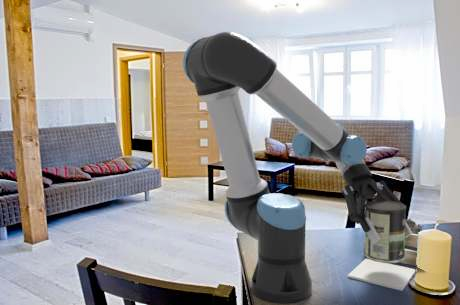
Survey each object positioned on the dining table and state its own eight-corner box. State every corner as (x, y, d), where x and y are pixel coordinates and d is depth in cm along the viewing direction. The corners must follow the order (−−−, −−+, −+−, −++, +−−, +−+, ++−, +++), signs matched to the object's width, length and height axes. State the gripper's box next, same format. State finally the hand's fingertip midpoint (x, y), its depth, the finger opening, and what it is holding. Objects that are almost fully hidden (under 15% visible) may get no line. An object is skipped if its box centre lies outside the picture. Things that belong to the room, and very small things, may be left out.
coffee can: (400, 249, 119) (402, 200, 117) (408, 264, 109) (410, 211, 107) (362, 248, 121) (363, 199, 119) (366, 262, 111) (367, 209, 109)
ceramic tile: (347, 277, 114) (347, 275, 114) (365, 260, 125) (365, 258, 125) (402, 290, 106) (402, 288, 106) (416, 271, 117) (416, 269, 117)
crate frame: (363, 254, 130) (364, 242, 129) (380, 239, 142) (380, 228, 142) (420, 266, 120) (420, 253, 120) (432, 249, 133) (433, 237, 132)
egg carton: (410, 228, 154) (411, 217, 154) (426, 235, 147) (427, 223, 147) (386, 232, 151) (386, 220, 150) (400, 238, 144) (401, 226, 143)
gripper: (377, 173, 131) (417, 238, 119) (315, 181, 122) (351, 252, 110) (391, 158, 125) (433, 225, 113) (327, 165, 116) (365, 239, 104)
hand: (393, 238), depth 112 cm, fingers closed on coffee can, 10 cm apart
